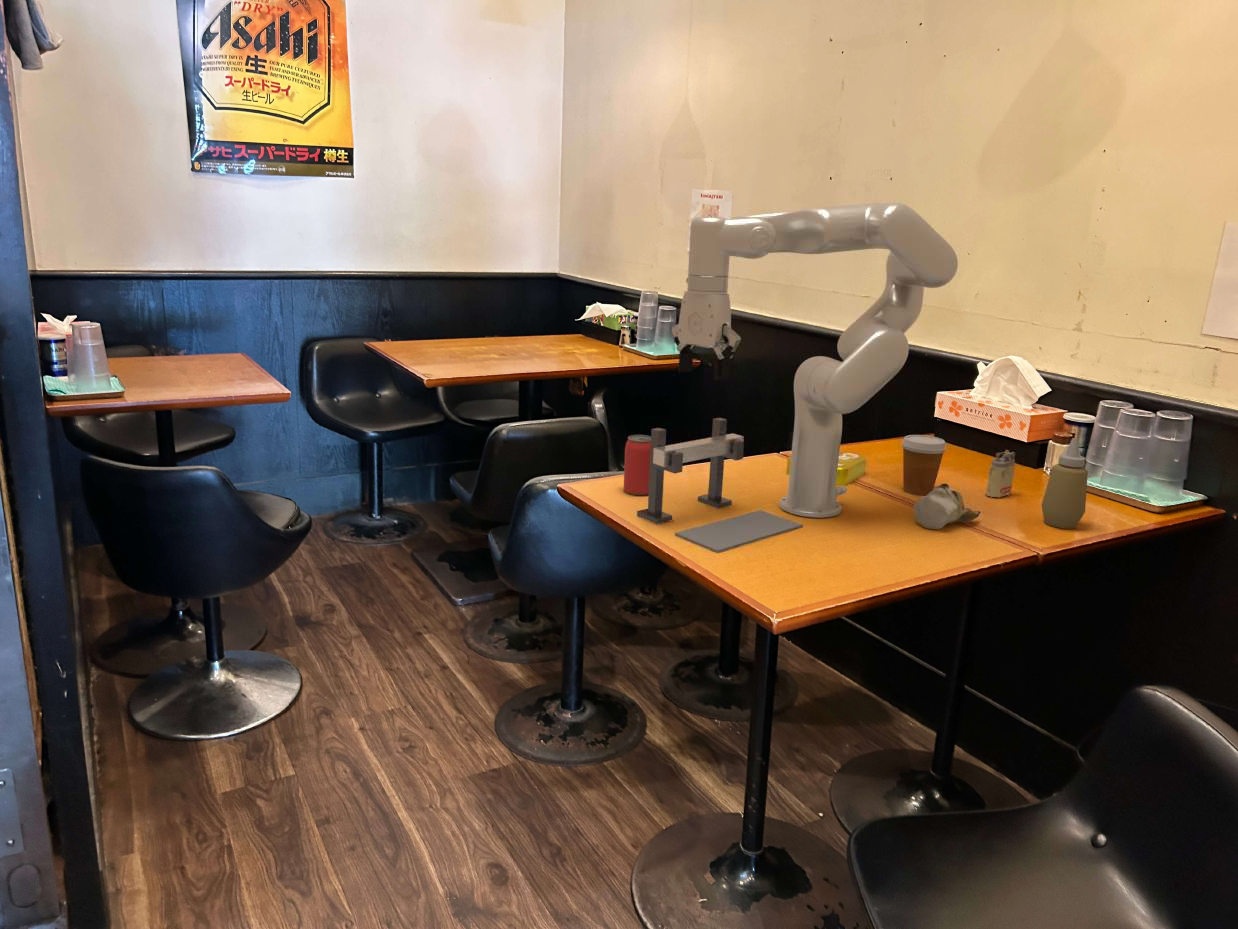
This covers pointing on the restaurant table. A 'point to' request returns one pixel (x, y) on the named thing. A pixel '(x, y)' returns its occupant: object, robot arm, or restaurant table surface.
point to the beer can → (637, 465)
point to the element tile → (845, 467)
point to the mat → (738, 530)
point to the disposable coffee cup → (921, 463)
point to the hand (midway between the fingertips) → (702, 375)
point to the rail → (696, 449)
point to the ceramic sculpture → (942, 508)
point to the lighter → (1001, 475)
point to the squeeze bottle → (1066, 490)
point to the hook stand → (657, 471)
